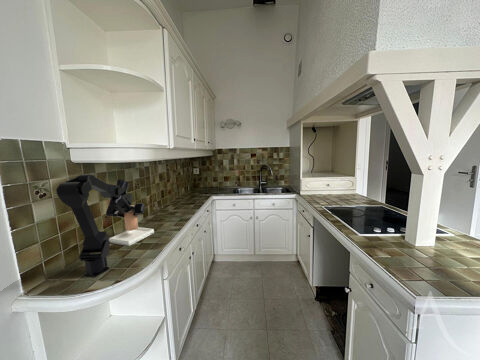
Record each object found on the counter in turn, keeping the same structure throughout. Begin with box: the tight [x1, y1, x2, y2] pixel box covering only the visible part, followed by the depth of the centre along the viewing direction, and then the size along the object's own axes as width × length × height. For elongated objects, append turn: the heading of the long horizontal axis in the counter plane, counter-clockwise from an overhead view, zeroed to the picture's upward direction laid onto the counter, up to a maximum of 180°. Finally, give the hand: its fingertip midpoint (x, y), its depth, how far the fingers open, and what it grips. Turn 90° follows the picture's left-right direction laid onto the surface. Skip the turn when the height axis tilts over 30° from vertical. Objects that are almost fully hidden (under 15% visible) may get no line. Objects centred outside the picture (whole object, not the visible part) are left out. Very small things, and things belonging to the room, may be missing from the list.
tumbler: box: [124, 204, 139, 231], centre depth 117 cm, size 7×7×13 cm
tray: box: [108, 226, 155, 247], centre depth 119 cm, size 18×14×2 cm
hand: (131, 216), depth 118 cm, fingers closed on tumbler, 6 cm apart
